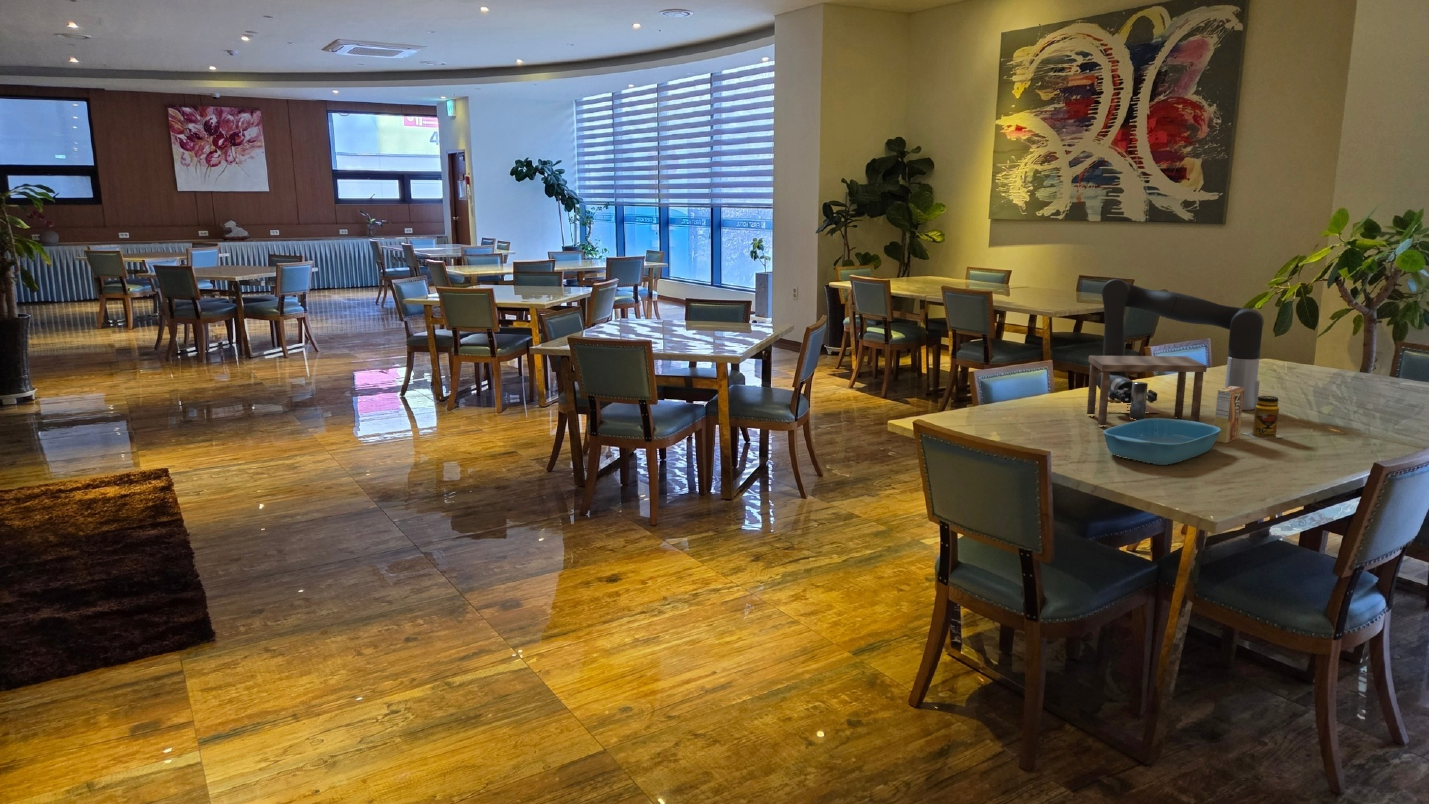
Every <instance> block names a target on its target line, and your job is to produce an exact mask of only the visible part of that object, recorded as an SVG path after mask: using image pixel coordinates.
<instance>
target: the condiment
mask: <svg viewBox="0 0 1429 804" xmlns="http://www.w3.org/2000/svg"><path fill="white" fill-rule="evenodd" d="M1257 399H1258V401H1257V405H1256V406H1255V409H1254V417H1253V418H1254V419H1253V424H1252V431H1251V432H1250V431H1249V432H1241V434H1243V435H1246V436H1250V437H1253V438H1255V439H1256V438H1257V439H1260V440H1274V439H1279V438H1282V436H1280V435H1277V429H1278V422H1279V421H1278V420H1279V414H1280V407H1279V406H1278V405H1279V397H1277V396H1273V395H1258V398H1257Z"/></svg>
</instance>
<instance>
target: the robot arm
mask: <svg viewBox="0 0 1429 804" xmlns="http://www.w3.org/2000/svg"><path fill="white" fill-rule="evenodd" d="M1101 297H1102V305H1103V311H1104V312H1103V313H1104V333H1103V334H1104V335H1103V347H1102V349H1103V351H1102V356H1126V353H1125V351H1126V338H1125V325H1124V321H1125V320H1124V319H1125V316H1124V315H1125V308H1132V309H1137V310H1143V311H1146V312H1148V313H1150V314H1151V313H1152V314H1153V315H1156V316H1159V317H1162V318H1165V319H1169V320H1172V321H1176V322H1180V323H1188V324H1195V325H1207V326H1215V327H1219V328H1222V329H1226V330H1229V335H1228V337H1229V338H1228V346H1227V349H1228V351H1227V353H1228V355H1227V362H1226V363H1227V364H1226V375H1225V385H1224V388H1226V387H1230V386H1235V387H1242V388H1245V390H1244V399H1243V407H1242V411H1252V410H1255V406H1256V405H1257V401H1258V399H1257V398H1258V397H1259V393H1260V391H1259V390H1260V382H1261V381H1259V380H1258V377H1259V366H1260V358H1261V347H1262V346H1261V345H1262V335H1263V329H1264V328H1263V327H1264V324H1265V323H1264V322H1265V321H1264V317H1263V315H1262V314H1261V312H1259V311H1258V310H1256V309H1252V308H1245V307H1236V306H1229V305H1223V304H1219V303H1215V302H1213V301H1209V300H1206V299H1203V298H1200V297H1195V296H1193V295H1188V294H1184V293H1180V292H1174V291H1168V290H1167V291H1166V290H1157V289H1156V290H1155V289H1148V288H1144V287H1141V286H1137V285H1134V284H1132V283H1128V282H1126V281H1124V280H1122V279H1119V278H1116V279H1115V278H1114V279H1110V280H1108V281H1107V282H1106V283H1104V284H1103V286H1102V289H1101ZM1101 373H1102V371H1101V372H1100V373H1099V372H1098V375H1097V388H1098V389H1099V390H1100V387H1101ZM1132 382H1134V381H1133V380H1131V379H1130V378H1129V375H1128V371H1110V379H1109V393H1108V399H1109V400H1110V401H1115V400H1116V401H1117V402H1123V403H1131V394H1132ZM1157 400H1158V392H1156V391H1155V390H1152V389H1147V399H1146V402H1148V403H1150V404H1152V403H1154V402H1157Z"/></svg>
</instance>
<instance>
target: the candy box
mask: <svg viewBox="0 0 1429 804" xmlns="http://www.w3.org/2000/svg"><path fill="white" fill-rule="evenodd" d="M1244 390H1245V388H1242V387H1235V386H1230V387H1226V388H1225V387H1224V388H1220V389H1217V398H1216V405H1215V406H1216V407H1215V408H1216V409H1215V415H1214V417H1215V418H1214V425H1213V426H1216V427H1219V428H1220V429H1221V431H1220V433H1219V435H1218V437H1217V439H1216V441H1215V442H1219V443H1224V444H1226V443H1230V442H1232V441H1235V440H1237V439H1239V438H1240V434H1241V433H1240V430H1241V424H1242V423H1241V422H1242V416H1243V415H1242V413H1243V410H1242V407H1243V399H1244Z"/></svg>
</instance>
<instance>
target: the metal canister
mask: <svg viewBox="0 0 1429 804" xmlns="http://www.w3.org/2000/svg"><path fill="white" fill-rule="evenodd" d="M1148 385H1149V383H1148V382H1145V381H1133V382H1132V394H1131V407H1130V413H1129V418H1130V417H1131V418H1133V419H1136V420H1141V419H1146V414H1145V412H1146V404H1147V401H1146V399H1147V392H1148V388H1149V387H1148Z"/></svg>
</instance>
